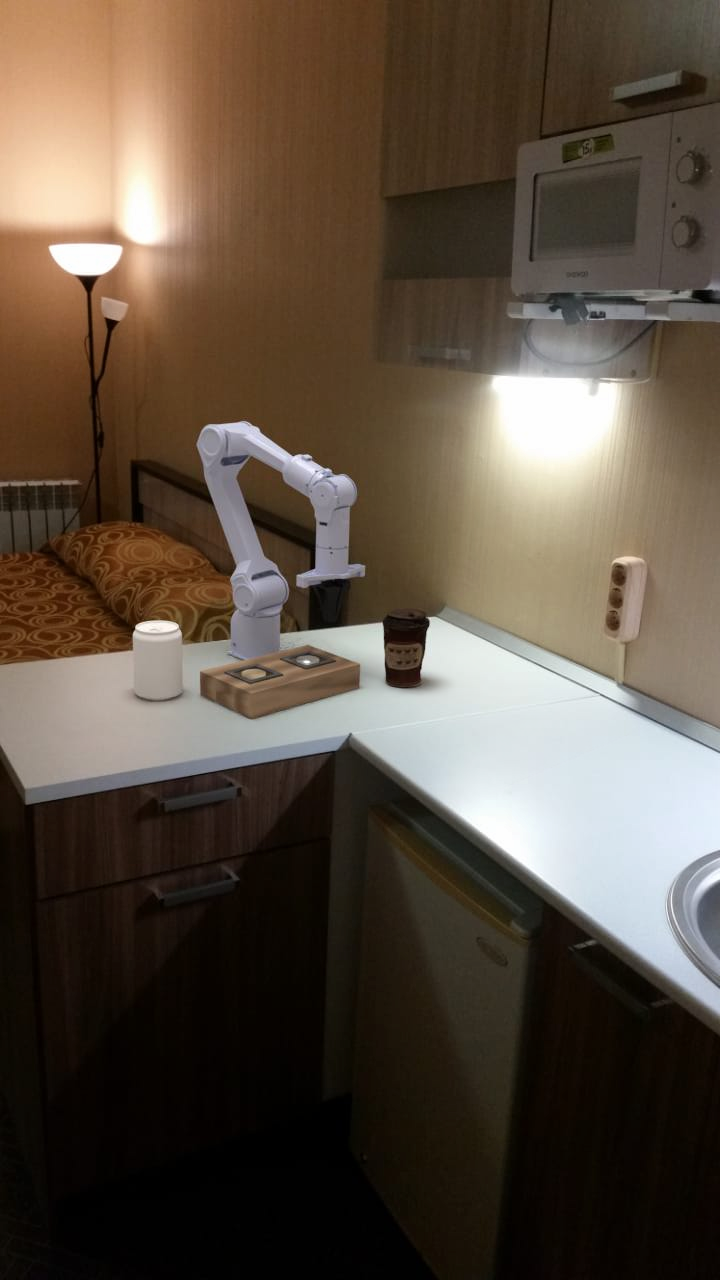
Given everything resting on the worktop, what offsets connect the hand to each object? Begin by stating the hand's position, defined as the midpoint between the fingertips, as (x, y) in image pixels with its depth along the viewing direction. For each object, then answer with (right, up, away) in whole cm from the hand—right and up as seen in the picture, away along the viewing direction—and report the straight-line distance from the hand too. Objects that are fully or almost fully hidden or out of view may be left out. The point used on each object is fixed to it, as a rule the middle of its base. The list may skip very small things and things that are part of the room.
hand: (330, 620), depth 193 cm
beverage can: (-29, -13, -9) cm, 33 cm away
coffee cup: (+13, -11, +1) cm, 17 cm away
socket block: (-8, -12, -6) cm, 16 cm away
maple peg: (-13, -13, -10) cm, 21 cm away
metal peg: (-4, -11, -2) cm, 12 cm away
